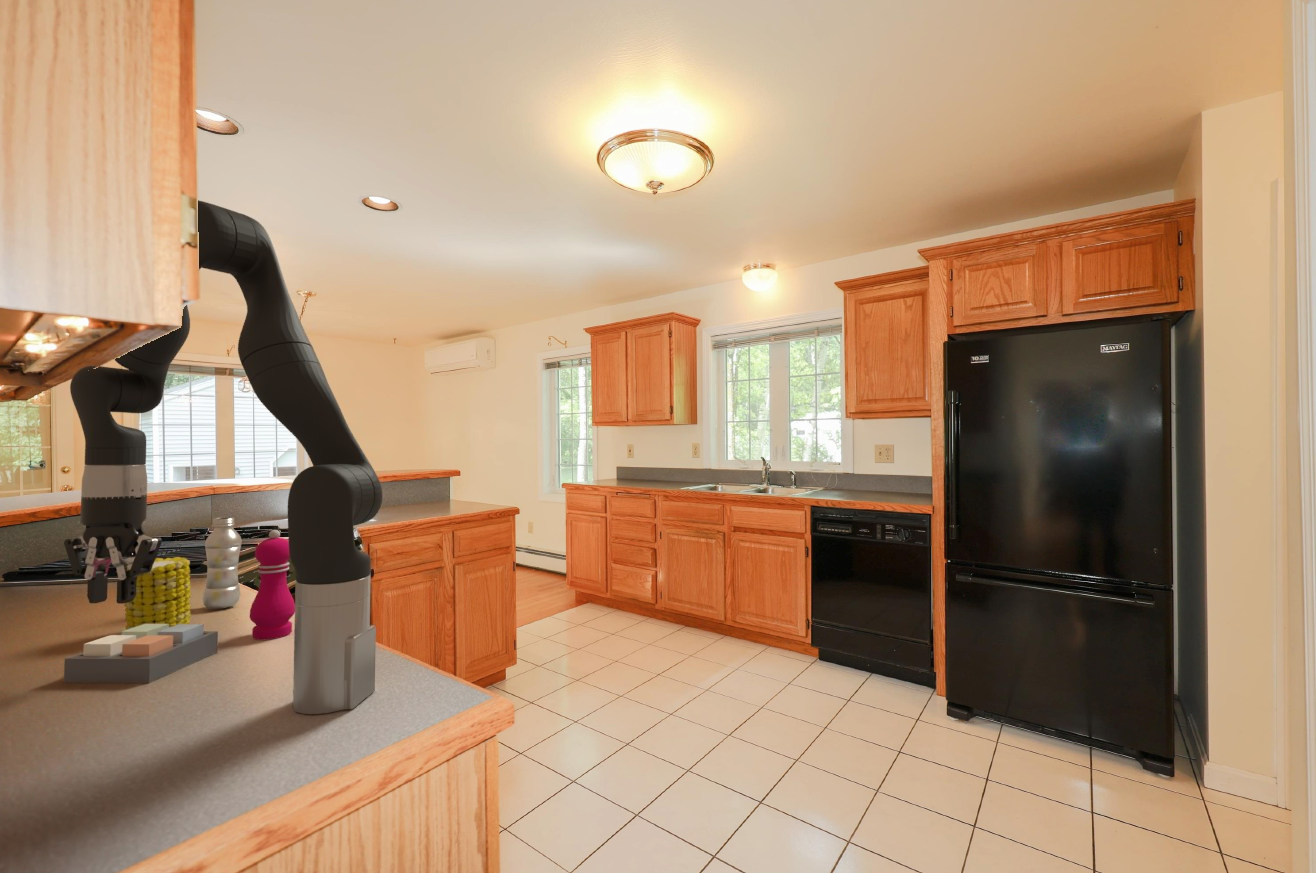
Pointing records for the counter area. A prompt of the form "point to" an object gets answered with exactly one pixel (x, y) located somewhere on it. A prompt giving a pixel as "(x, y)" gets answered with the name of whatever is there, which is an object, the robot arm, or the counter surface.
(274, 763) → the counter surface
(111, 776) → the counter surface
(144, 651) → the key
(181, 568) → the food
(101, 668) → the keypad
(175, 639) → the key
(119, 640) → the key
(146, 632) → the key
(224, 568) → the plastic bottle
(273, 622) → the pepper mill
